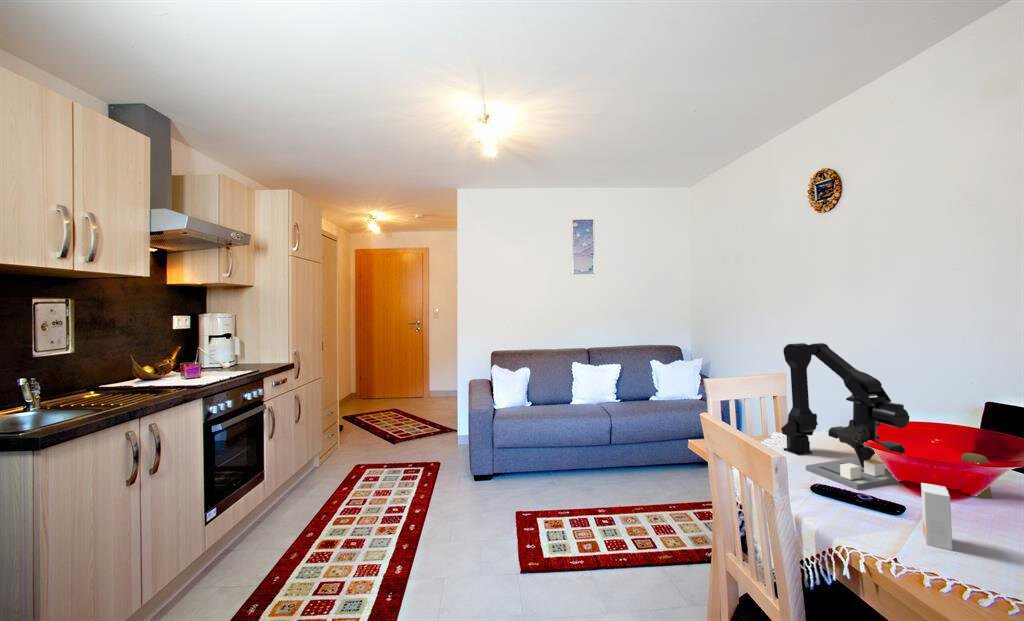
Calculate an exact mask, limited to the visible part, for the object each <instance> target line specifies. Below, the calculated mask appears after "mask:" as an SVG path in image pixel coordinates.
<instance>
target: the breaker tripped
mask: <svg viewBox="0 0 1024 621" xmlns="http://www.w3.org/2000/svg"><path fill="white" fill-rule="evenodd" d="M883 462H884V461H881V460H877V459H874V458H873V459H872V458H871V459H870V460H865V461H864V473H866V474H869V475H872V476H880V475H885V466H884V463H883Z"/></svg>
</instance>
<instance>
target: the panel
mask: <svg viewBox="0 0 1024 621" xmlns="http://www.w3.org/2000/svg"><path fill="white" fill-rule="evenodd" d="M847 463H852V464H855V465H858V466H860V468H861V478H859V479H853V480H850V479H847V478H844V477H841V476H840V464H847ZM805 471H807V472H810V473H813V474H815V475H818V476H820V477H823V478H825V479H828V480H831V481H833V482H835V483H837V484H841V485H844V486H846V487H849V488H852V489H854V490H857V491H859V490H863V489H864V490H865V489H868V488H869V489H870V488H875V487H881V486H884V485H890V484H896V483H899V482H898V481H897V480H896V479H895V478H894V477H893V476H892V474H891V473H890V472H889V471H888V470H887V469H885V475H880V476H872V475H869V474H866V473H864V468H863V467H861V463H860V461H859V458H858V456H856V457H850V458H843V459H837V460H831V461H824V462H818V463H813V464H812V463H811V464H806V465H805Z"/></svg>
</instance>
